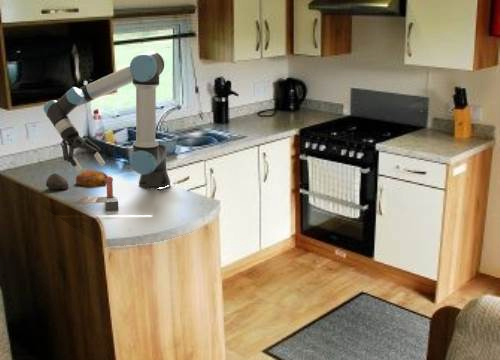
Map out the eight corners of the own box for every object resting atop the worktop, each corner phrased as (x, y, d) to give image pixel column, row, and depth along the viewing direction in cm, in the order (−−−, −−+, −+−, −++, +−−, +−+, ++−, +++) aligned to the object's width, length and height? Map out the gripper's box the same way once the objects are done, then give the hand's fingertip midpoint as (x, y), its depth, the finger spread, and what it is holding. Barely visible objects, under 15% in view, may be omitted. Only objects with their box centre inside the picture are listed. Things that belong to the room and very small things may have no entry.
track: (115, 198, 280) (115, 196, 280) (113, 204, 272) (113, 202, 272) (80, 198, 279) (79, 196, 278) (76, 204, 271) (76, 202, 271)
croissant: (92, 194, 293) (93, 178, 290) (70, 184, 300) (70, 169, 297) (114, 186, 305) (115, 171, 302) (92, 177, 312) (92, 162, 309)
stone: (67, 193, 299) (54, 177, 299) (74, 183, 294) (60, 168, 294) (52, 201, 291) (38, 185, 292) (59, 191, 286) (45, 175, 286)
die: (117, 208, 267) (116, 197, 265) (118, 212, 262) (118, 201, 261) (105, 209, 265) (104, 198, 264) (106, 213, 261) (106, 202, 259)
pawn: (114, 198, 278) (113, 175, 275) (113, 200, 274) (112, 177, 271) (106, 198, 277) (105, 175, 274) (105, 200, 274) (104, 177, 271)
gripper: (84, 131, 293) (108, 166, 289) (41, 140, 273) (66, 178, 269) (91, 121, 289) (116, 157, 285) (48, 130, 268) (74, 168, 265)
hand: (92, 168), depth 277 cm, fingers open, 13 cm apart
